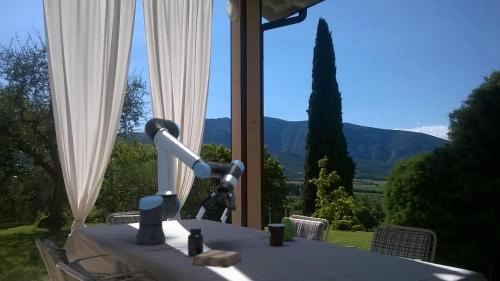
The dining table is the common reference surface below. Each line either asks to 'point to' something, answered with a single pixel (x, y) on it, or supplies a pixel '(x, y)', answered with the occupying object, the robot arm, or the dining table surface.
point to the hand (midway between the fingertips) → (209, 220)
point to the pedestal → (217, 258)
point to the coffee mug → (276, 234)
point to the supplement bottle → (195, 242)
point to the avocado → (288, 229)
